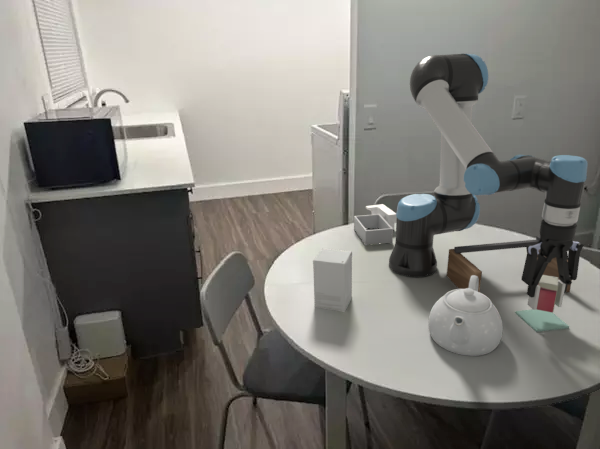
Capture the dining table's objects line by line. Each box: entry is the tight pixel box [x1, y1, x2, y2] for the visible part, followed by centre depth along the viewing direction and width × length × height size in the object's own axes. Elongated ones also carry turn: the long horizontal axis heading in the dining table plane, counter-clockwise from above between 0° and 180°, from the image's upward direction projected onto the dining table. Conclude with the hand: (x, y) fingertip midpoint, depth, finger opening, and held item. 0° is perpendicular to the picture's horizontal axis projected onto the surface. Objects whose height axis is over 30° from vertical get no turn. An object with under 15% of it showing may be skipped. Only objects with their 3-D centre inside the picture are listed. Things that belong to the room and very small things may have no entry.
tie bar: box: [453, 235, 540, 254], centre depth 141 cm, size 29×2×2 cm, turn 99°
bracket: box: [365, 203, 397, 231], centre depth 186 cm, size 13×7×8 cm
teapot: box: [427, 275, 504, 357], centre depth 113 cm, size 19×18×14 cm
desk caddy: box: [353, 214, 394, 246], centre depth 176 cm, size 10×16×6 cm, turn 9°
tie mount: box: [446, 248, 573, 293], centre depth 138 cm, size 30×16×9 cm, turn 99°
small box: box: [537, 275, 559, 313], centre depth 118 cm, size 5×4×8 cm
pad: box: [514, 308, 570, 332], centre depth 121 cm, size 9×9×1 cm
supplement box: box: [312, 247, 353, 313], centre depth 130 cm, size 9×9×15 cm
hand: (544, 305), depth 119 cm, fingers closed on small box, 6 cm apart
